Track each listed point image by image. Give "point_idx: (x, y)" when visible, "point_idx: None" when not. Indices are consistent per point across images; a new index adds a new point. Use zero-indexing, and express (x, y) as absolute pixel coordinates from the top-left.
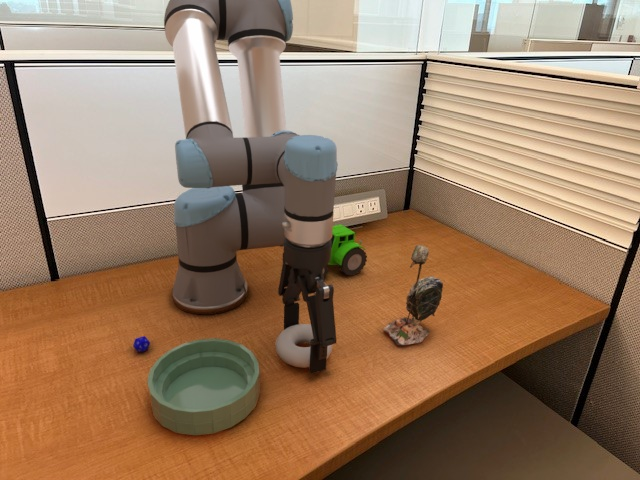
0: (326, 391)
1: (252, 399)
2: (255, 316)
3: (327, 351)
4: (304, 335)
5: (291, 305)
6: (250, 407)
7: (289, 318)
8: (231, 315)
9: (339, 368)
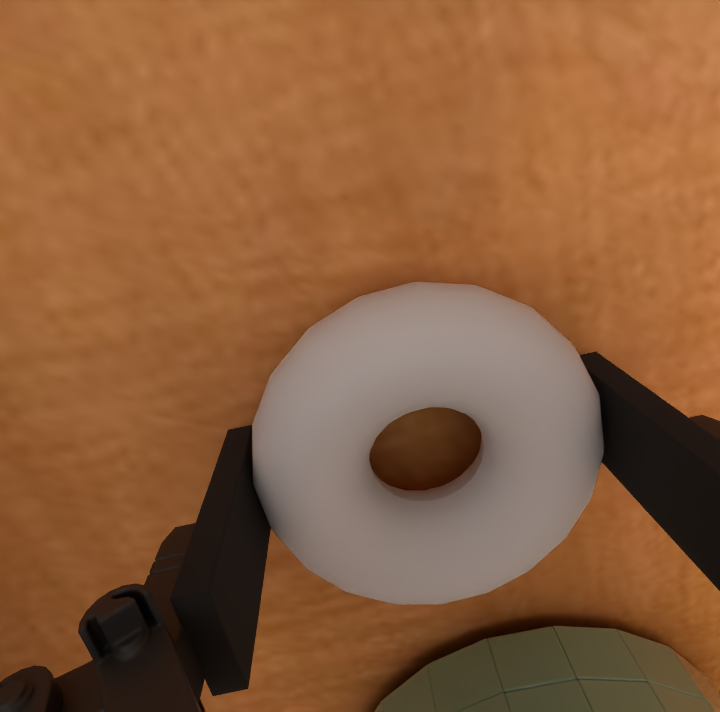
0: (697, 370)
1: (714, 703)
2: (15, 574)
3: (575, 356)
4: (367, 451)
5: (215, 647)
6: (702, 682)
7: (254, 571)
8: (6, 667)
9: (571, 255)
